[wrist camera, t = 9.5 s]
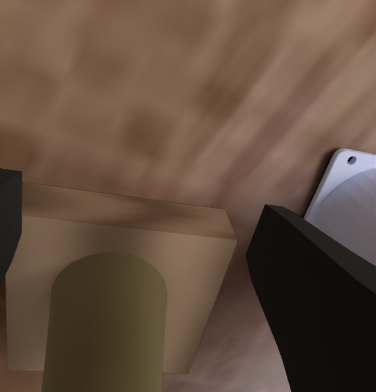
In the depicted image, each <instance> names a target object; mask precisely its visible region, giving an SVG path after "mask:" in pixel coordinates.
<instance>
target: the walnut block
mask: <svg viewBox="0 0 376 392" xmlns="http://www.w3.org/2000/svg"><path fill="white" fill-rule="evenodd" d="M237 242H238V240H237V237H236V235H235V233H234V230H233V228H232V226H231V223H230V221H229V219H228V216H227V214H226V212H225V209H217V208H210V207H202V206H195V205H188V204H180V203H173V202H165V201H158V200H151V199H143V198H136V197H128V196H121V195H114V194H106V193H99V192H91V191H84V190H77V189H69V188H62V187H54V186H47V185H40V184H32V183H25V182H23V184H22V234H21V237H20V240H19V243H18V246H17V249H16V252H15V254H14V257H13V260H12V263H11V265H10V267H9V269H8V271H7V273H6V320H7V370H14V371H44V364H45V354H46V343H47V333H48V323H49V313H50V302H51V292H52V286H53V284H54V282H55V280H56V278H57V276H58V274H59V273H61V272H62V271H63V270H64V269H65V268H66V267H67V266H68V265H69V264H70V263H72V262H75V261H77V260H79V259H81V258H83V257H85V256H88V255H94V254H100V253H105V252H110V253H124V254H129V255H132V256H135V257H138V258H141V259H144V260H145V261H146V262H148V263H149V264H151V265H152V266H154V267H155V268H156V269H157V270H158V271H159V273H160V274H161V276H162V277H163V278H164V280H165V284H166V289H167V307H166V324H165V340H164V356H163V372H162V373H186V374H188V373H189V370H190V368H191V365H192V362H193V360H194V357H195V354H196V352H197V349H198V346H199V344H200V341H201V338H202V335H203V333H204V330H205V327H206V325H207V322H208V319H209V317H210V314H211V311H212V309H213V306H214V303H215V301H216V298H217V295H218V293H219V290H220V287H221V284H222V282H223V279H224V276H225V274H226V271H227V268H228V266H229V263H230V260H231V258H232V255H233V252H234V250H235V247H236V244H237Z"/></svg>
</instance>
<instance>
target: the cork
mask: <svg viewBox="0 0 376 392" xmlns="http://www.w3.org/2000/svg"><path fill="white" fill-rule="evenodd" d="M166 307H167V289H166V284H165V280H164V278H163V277H162V276H161V274H160V273H159V271H158V270H157V269H156V268H155V267H154V266H152V265H151V264H149V263H148V262H146V261H145V260H144V259H141V258H138V257H135V256H132V255H129V254H124V253H110V252H105V253H100V254H94V255H88V256H85V257H83V258H81V259H79V260H77V261H75V262H72V263H70V264H69V265H68V266H67V267H66V268H65V269H64V270H63V271H62V272H61V273H59V274H58V276H57V278H56V280H55V282H54V284H53V286H52V292H51V302H50V313H49V323H48V333H47V343H46V354H45V364H44V374H43V385H42V392H161V388H162V372H163V356H164V340H165V324H166Z"/></svg>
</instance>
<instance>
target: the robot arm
mask: <svg viewBox="0 0 376 392" xmlns="http://www.w3.org/2000/svg"><path fill="white" fill-rule="evenodd" d="M351 156H353V157H352V159H351V161H349V162H347V161H348V159H349V158H350V157H351ZM21 234H22V171H16V170H8V169H1V168H0V284H1V282H2V281H3V279H4V277H5V275H6V273H7V271H8V269H9V267H10V265H11V263H12V260H13V257H14V254H15V252H16V249H17V246H18V243H19V240H20V237H21ZM246 259H247V263H248V268H249V272H250V276H251V280H252V283H253V286H254V289H255V291H256V294H257V296H258V299H259V302H260V304H261V307H262V309H263V311H264V314H265V316H266V319H267V321H268V324H269V326H270V329H271V331H272V334H273V336H274V339H275V341H276V344H277V346H278V349H279V352H280V355H281V358H282V361H283V364H284V368H285V371H286V375H287V378H288V382H289V385H290V389H291V392H376V154H371V153H366V152H361V151H356V150H351V149H346V148H341V149H339V150H337V151H336V152H335V153H334V155H333V156H332V159H331V161H330V163H329V165H328V167H327V169H326V171H325V174H324V176H323V178H322V180H321V182H320V184H319V186H318V189H317V191H316V193H315V195H314V197H313V199H312V201H311V204H310V206H309V208H308V210H307V212H306V214H305V216H304V219H303V218H301V217H300V216H298V215H297V214H295V213H293V212H292V211H290V210H288V209H286V208H284V207H281V206H274V205H266V204H265V206H264V209H263V211H262V214H261V216H260V219H259V222H258V224H257V227H256V229H255V232H254V235H253V237H252V240H251V242H250V245H249V247H248V250H247V253H246Z"/></svg>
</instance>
